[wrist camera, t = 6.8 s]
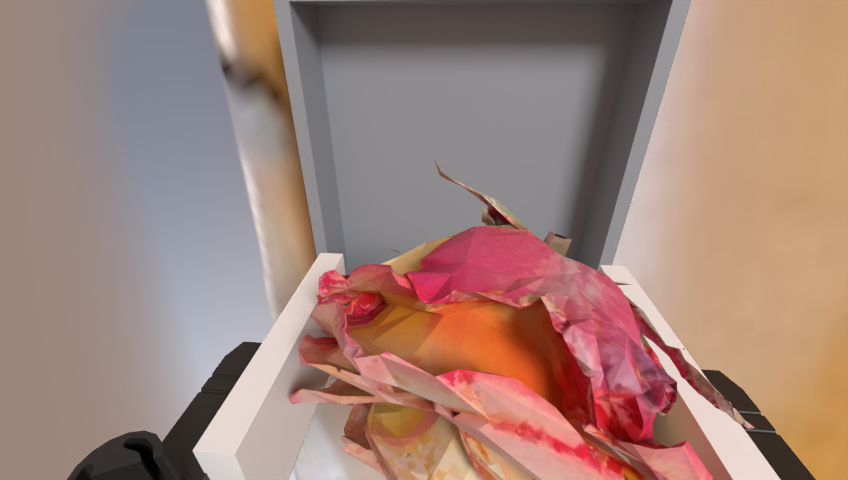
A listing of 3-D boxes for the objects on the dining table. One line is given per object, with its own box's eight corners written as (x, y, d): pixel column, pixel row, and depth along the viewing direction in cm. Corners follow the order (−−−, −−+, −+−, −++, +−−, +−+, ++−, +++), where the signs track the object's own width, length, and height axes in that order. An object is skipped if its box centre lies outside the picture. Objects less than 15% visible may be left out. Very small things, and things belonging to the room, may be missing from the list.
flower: (538, 9, 7) (151, 372, 3) (878, 319, 7) (940, 994, 3) (394, 216, 15) (245, 380, 11) (555, 354, 16) (466, 557, 12)
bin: (651, -13, 20) (698, -25, 16) (577, 280, 29) (596, 317, 25) (304, -8, 21) (269, -19, 17) (341, 269, 31) (324, 302, 27)
